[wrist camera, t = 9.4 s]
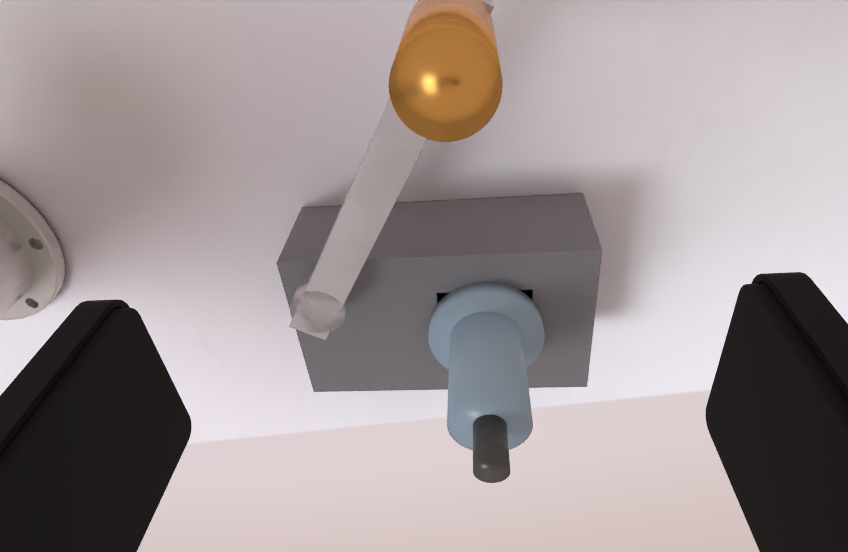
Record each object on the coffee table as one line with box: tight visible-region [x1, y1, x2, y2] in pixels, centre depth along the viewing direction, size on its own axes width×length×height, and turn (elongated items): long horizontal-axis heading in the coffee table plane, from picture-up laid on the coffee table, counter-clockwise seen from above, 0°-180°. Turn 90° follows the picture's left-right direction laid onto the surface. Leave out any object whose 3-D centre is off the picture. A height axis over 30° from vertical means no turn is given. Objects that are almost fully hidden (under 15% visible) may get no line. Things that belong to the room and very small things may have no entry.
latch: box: [290, 0, 502, 340], centre depth 23 cm, size 18×3×7 cm, turn 155°
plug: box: [428, 282, 545, 483], centre depth 31 cm, size 6×6×14 cm
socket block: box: [277, 193, 602, 392], centre depth 35 cm, size 17×10×7 cm, turn 95°
